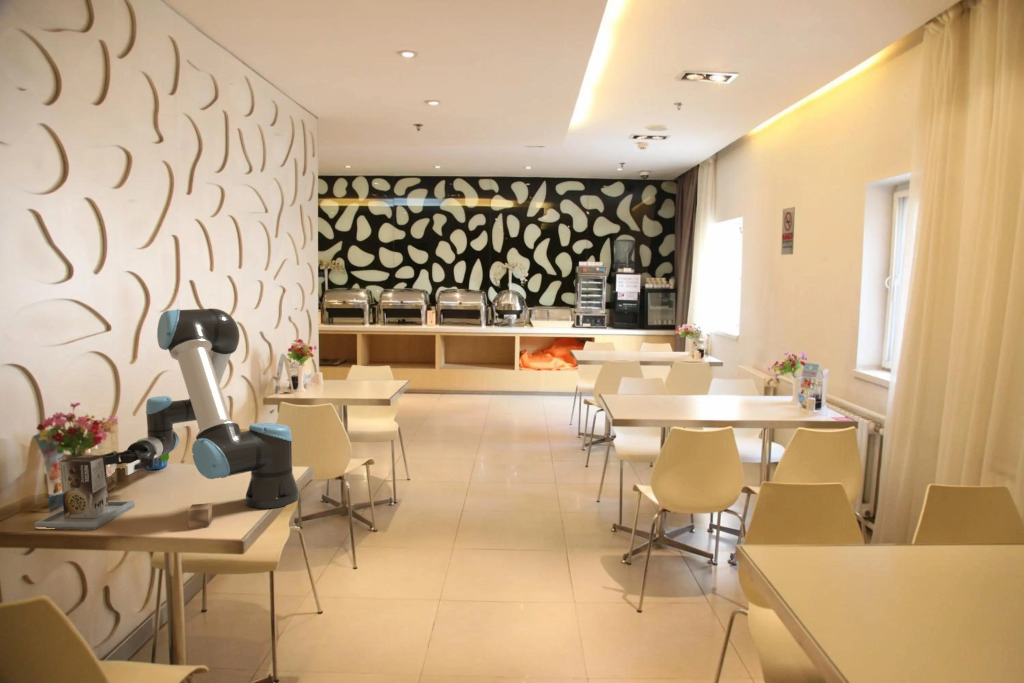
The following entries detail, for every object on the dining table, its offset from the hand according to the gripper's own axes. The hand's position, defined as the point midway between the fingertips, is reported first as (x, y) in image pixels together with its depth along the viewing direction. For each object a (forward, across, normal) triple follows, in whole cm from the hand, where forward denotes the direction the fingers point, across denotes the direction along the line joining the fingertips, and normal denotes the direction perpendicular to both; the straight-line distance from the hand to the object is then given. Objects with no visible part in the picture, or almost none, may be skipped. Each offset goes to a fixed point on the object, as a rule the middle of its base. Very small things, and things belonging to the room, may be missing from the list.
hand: (103, 470), depth 193 cm
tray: (+8, 0, -11) cm, 14 cm away
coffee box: (+8, 0, -10) cm, 13 cm away
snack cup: (-41, +8, -11) cm, 43 cm away
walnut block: (+12, -34, -11) cm, 38 cm away
